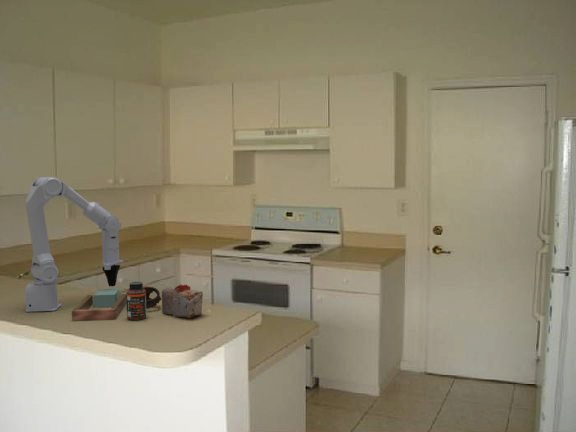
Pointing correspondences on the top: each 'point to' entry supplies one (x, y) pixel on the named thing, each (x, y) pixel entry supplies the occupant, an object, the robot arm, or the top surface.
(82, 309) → the guide channel
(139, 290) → the supplement bottle
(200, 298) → the food item
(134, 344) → the top surface
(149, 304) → the pottery mug
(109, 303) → the block
